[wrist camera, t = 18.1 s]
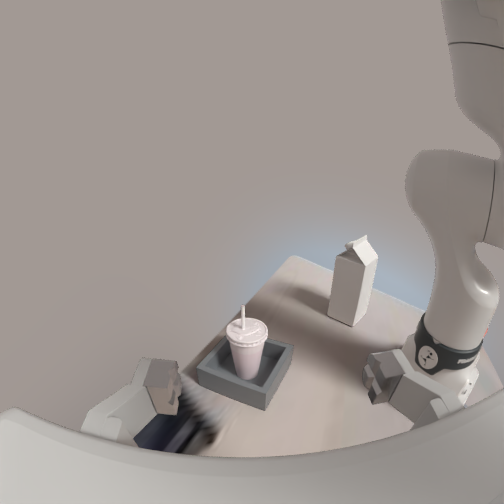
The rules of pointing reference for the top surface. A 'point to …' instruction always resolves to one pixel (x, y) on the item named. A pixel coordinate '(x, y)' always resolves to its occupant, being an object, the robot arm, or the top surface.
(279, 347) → the bin
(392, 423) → the top surface
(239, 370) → the smoothie
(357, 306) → the milk carton
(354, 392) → the top surface
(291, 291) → the top surface
